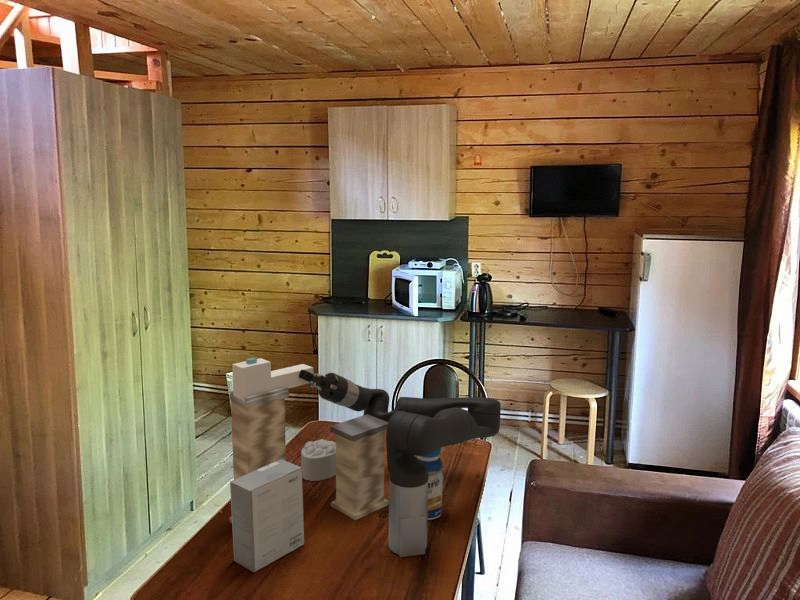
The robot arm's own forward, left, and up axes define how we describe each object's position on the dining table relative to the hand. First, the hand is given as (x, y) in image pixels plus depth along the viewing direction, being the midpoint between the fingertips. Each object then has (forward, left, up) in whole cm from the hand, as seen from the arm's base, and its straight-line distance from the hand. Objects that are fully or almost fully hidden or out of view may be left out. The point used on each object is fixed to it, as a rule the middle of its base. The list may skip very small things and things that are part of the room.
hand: (294, 371), depth 171 cm
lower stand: (-4, -16, -37) cm, 41 cm away
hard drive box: (-22, +9, -38) cm, 44 cm away
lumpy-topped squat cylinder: (+19, -9, -38) cm, 43 cm away
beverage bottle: (-12, -33, -38) cm, 51 cm away
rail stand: (-5, +9, -37) cm, 39 cm away
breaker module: (-3, +5, -3) cm, 7 cm away
